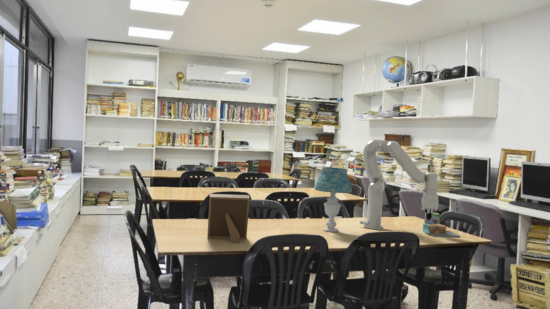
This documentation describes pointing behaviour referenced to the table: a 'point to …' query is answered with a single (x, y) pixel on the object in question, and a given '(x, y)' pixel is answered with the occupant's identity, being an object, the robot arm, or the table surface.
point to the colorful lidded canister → (433, 219)
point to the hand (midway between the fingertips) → (428, 219)
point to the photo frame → (228, 216)
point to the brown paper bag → (434, 228)
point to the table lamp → (333, 192)
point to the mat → (448, 234)
